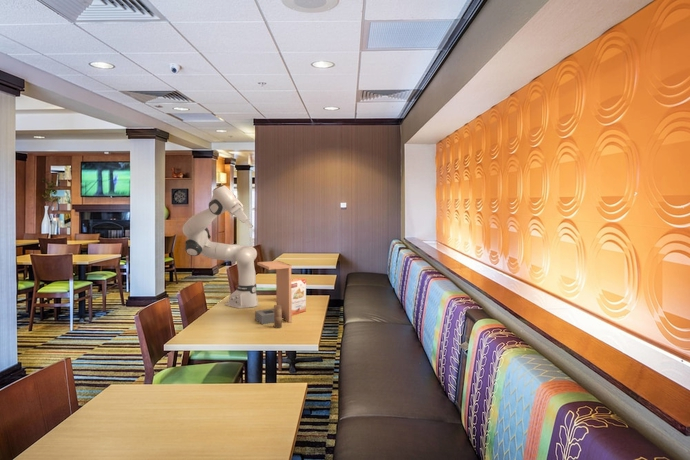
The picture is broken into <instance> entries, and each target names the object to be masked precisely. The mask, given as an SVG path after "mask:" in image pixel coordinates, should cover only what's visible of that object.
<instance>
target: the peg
mask: <svg viewBox="0 0 690 460" xmlns="http://www.w3.org/2000/svg"><path fill="white" fill-rule="evenodd" d="M273 309H274V323H273V324H274V326H273V327H274V329H281V328H282V327H283V325H282V323H283V318H282V306H281V305H277V304H275V305H274V306H273Z"/></svg>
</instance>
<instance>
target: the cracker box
mask: <svg viewBox="0 0 690 460" xmlns="http://www.w3.org/2000/svg"><path fill="white" fill-rule="evenodd" d="M291 296H292V316H294V315H299V314H301V312H302V313H304V311H305V312H306V311H307V310H306V308H307V279H306V278H303V277H299V278H293V279H291Z"/></svg>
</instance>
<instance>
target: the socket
mask: <svg viewBox="0 0 690 460" xmlns="http://www.w3.org/2000/svg"><path fill="white" fill-rule="evenodd" d="M254 313H255V315H254V319H255V321H256V322H258V323H259V324H261V325H268V324H269V325H270V324H274V308H270V309H269V308H267V309H260V310H255V311H254Z"/></svg>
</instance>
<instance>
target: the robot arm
mask: <svg viewBox="0 0 690 460" xmlns="http://www.w3.org/2000/svg"><path fill="white" fill-rule="evenodd" d="M211 197H212V198H211V199H210V201H209V203H208V208H207V209H204V210H202V211H200V212H198V213H195V214H193V215H192V216H190V217H189V218H188V219H187V221H185V223H184V224H183V226H182V228H181V229H182V233H183V235H184V236H185V237H186V240H185V242H184V243H185V246H184V250H185V253H187V254H188V255H189V256H192V257H197V256H199V255H202V256H203V257H205V258H209V259H212V260H218V261H219V260H220V261H226V262H236V266H237V271H238V272H237V273H238V284H237V285H235V288H236V290H235V291H233V292H232V293H231V294H230V295H229V297H228V301H227V302H225V303H224V305H225V306H228V307H232V308H236V309H244V308H247V309H248V308H254V307H258V306H259V300H258V297H257V296H258V295H257V280H256V278H257V277H256V276H257V275H256V273H257V272H256V269H255V262H254V261H255V260H256V258H257V256H258V251H257V250H256V248H255V247H253V246H250V245H242V244H241V245H239V244H228V243H223V242H217V241H216V242H215V241H211V240H210V239H211V234H210V230H209V228H208V227H209V226H210V225H211V223H212V222H213V221H214V220H215V219H216V218H217V217H218V216H220V215H222V214H224V213H226V212H227V213H228V214H230V216H231V217H232V216H234V217H235V218H237V219H238V220H239V221H240V222H241V223H244V224H245V225H246V226H247V227H248V228H249V229H252V228H253V227H254V225H253V224H252V223H251V221H250V218H249V216H247V215H246V213H245V212H244V211H245V209H244V204H242V202H241V201H240V200H239V199H238V198H237V196H236V195H235V194H234V192H232V191H231V189H229V187H228V186H226V185H225V184H220V185H219V186H217V187H215V188H213V190H212V196H211Z"/></svg>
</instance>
